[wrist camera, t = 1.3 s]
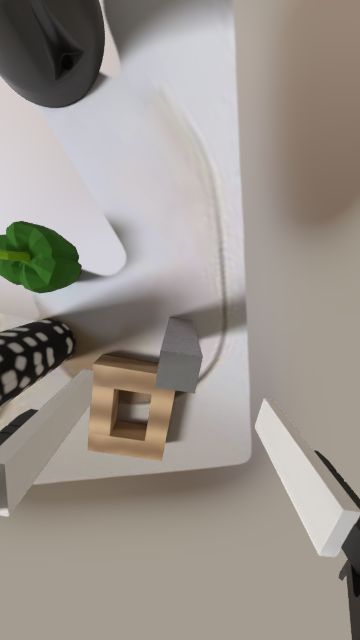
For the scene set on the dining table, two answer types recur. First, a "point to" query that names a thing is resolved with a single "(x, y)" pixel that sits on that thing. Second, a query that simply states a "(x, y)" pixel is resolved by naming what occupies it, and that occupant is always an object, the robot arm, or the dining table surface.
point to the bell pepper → (37, 258)
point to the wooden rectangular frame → (104, 406)
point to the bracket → (179, 357)
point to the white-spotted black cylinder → (32, 354)
